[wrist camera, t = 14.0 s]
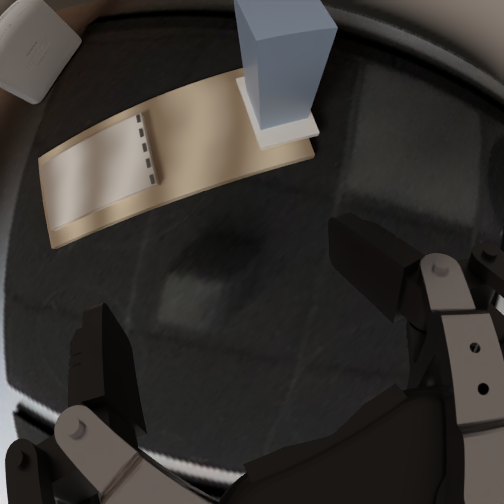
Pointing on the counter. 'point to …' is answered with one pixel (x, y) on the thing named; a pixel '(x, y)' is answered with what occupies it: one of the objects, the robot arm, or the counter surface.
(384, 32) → the counter surface
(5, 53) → the photo printer
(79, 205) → the perforated strip board
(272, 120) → the panel
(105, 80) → the counter surface
